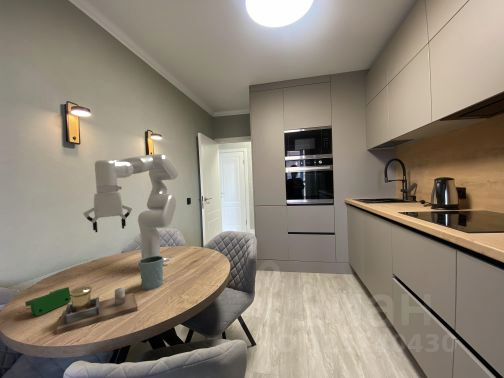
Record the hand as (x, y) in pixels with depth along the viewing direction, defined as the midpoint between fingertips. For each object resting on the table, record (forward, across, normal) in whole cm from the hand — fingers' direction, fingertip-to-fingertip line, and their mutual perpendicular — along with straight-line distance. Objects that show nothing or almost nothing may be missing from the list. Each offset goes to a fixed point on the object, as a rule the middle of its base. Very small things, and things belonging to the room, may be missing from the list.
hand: (110, 229), depth 96 cm
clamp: (+26, +21, +1) cm, 34 cm away
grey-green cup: (+27, -14, +5) cm, 31 cm away
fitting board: (+26, +5, +18) cm, 32 cm away
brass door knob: (+24, +10, +17) cm, 32 cm away
